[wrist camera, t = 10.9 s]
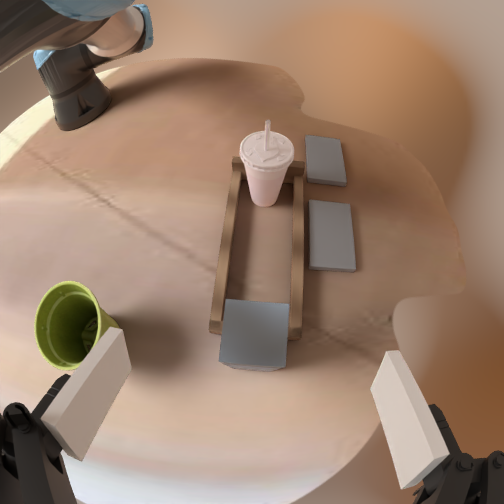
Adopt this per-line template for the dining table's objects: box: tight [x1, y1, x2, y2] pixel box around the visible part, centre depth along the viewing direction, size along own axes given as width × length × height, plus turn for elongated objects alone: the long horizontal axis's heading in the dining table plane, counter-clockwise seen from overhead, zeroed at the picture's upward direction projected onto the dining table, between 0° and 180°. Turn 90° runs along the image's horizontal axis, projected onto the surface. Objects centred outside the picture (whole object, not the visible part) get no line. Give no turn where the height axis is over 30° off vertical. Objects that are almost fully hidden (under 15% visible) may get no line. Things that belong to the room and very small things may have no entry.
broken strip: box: [305, 135, 356, 272], centre depth 39 cm, size 24×6×1 cm, turn 175°
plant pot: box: [34, 281, 120, 371], centre depth 26 cm, size 9×9×9 cm
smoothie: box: [240, 120, 294, 207], centre depth 33 cm, size 6×6×14 cm
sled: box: [209, 156, 305, 371], centre depth 28 cm, size 27×10×15 cm, turn 175°
